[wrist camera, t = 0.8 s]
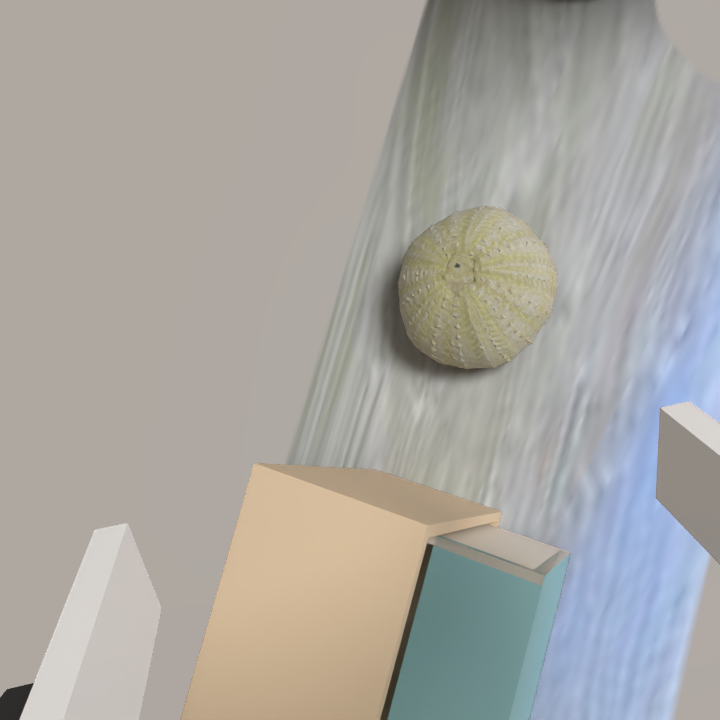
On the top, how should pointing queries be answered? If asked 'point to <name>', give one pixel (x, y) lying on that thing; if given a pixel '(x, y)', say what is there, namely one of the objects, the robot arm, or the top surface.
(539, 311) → the sea urchin shell
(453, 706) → the drawer box
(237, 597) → the sleeve
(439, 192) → the top surface
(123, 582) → the robot arm
